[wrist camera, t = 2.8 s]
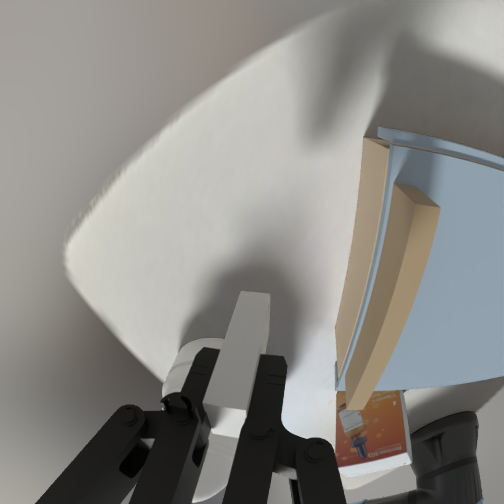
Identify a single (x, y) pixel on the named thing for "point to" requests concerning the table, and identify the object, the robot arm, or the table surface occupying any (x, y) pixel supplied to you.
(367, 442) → the small box
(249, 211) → the table surface
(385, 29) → the table surface
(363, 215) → the tray
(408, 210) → the lid
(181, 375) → the honey pot
